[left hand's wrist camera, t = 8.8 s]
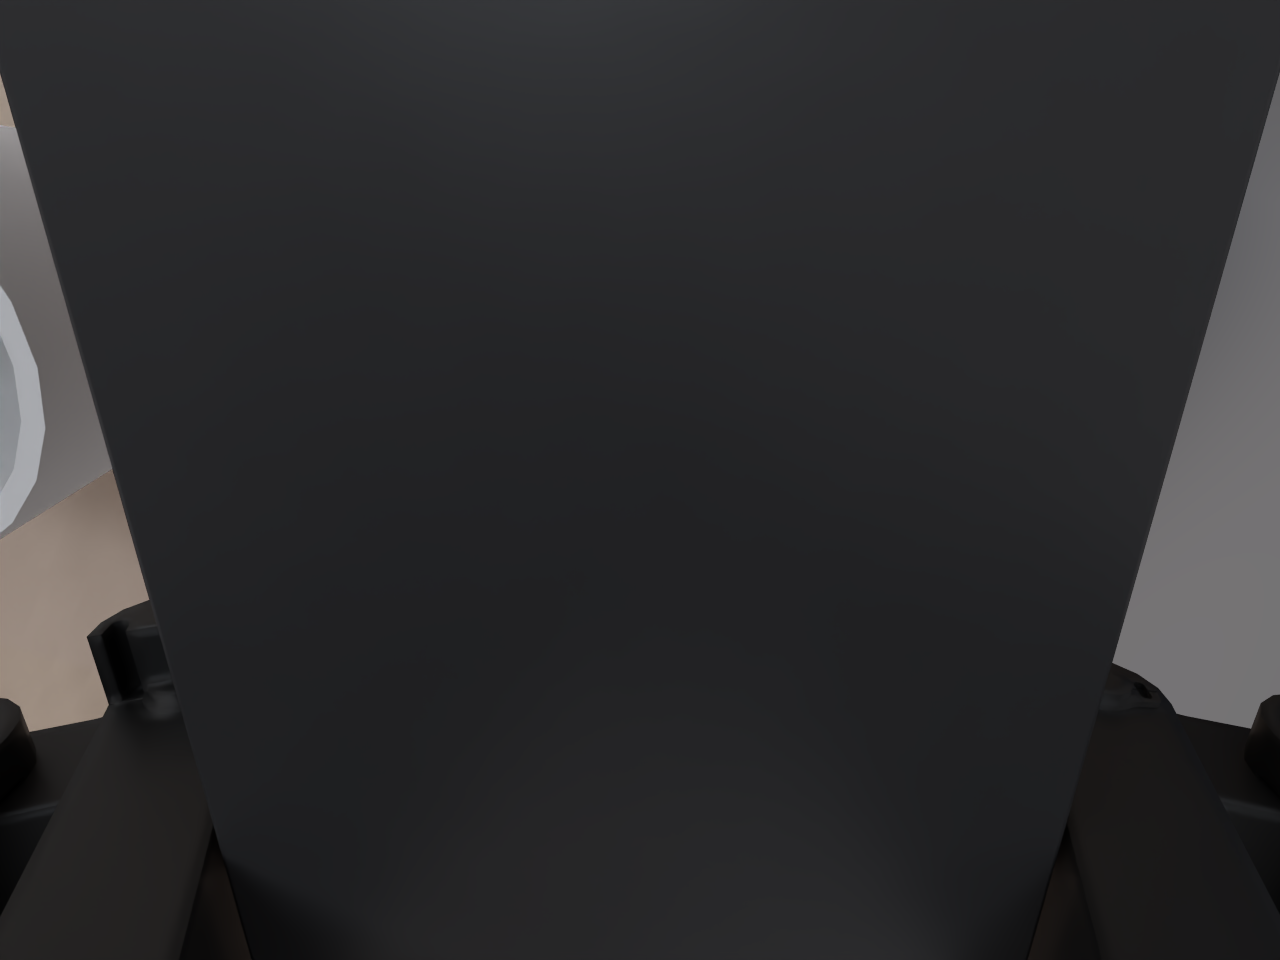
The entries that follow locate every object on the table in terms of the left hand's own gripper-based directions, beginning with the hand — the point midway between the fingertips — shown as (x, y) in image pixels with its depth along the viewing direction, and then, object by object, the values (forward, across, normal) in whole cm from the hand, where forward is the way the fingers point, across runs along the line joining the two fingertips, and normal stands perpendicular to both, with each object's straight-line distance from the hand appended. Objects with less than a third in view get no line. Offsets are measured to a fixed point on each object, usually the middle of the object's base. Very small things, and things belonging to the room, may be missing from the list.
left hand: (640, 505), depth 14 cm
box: (+1, 0, -9) cm, 9 cm away
